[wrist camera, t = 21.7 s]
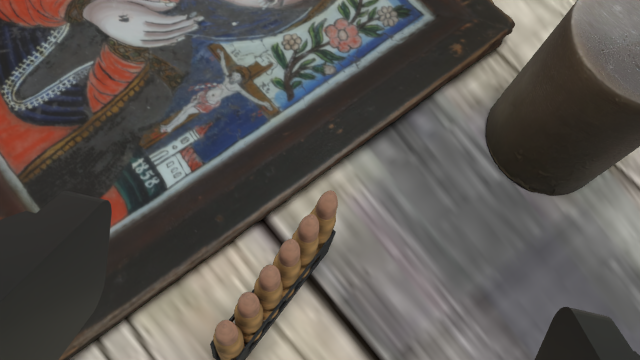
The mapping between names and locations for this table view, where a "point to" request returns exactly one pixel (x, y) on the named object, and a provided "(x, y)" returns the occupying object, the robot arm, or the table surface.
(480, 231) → the table surface
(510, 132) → the pillar candle
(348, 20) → the religious icon
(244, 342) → the ammunition clip
